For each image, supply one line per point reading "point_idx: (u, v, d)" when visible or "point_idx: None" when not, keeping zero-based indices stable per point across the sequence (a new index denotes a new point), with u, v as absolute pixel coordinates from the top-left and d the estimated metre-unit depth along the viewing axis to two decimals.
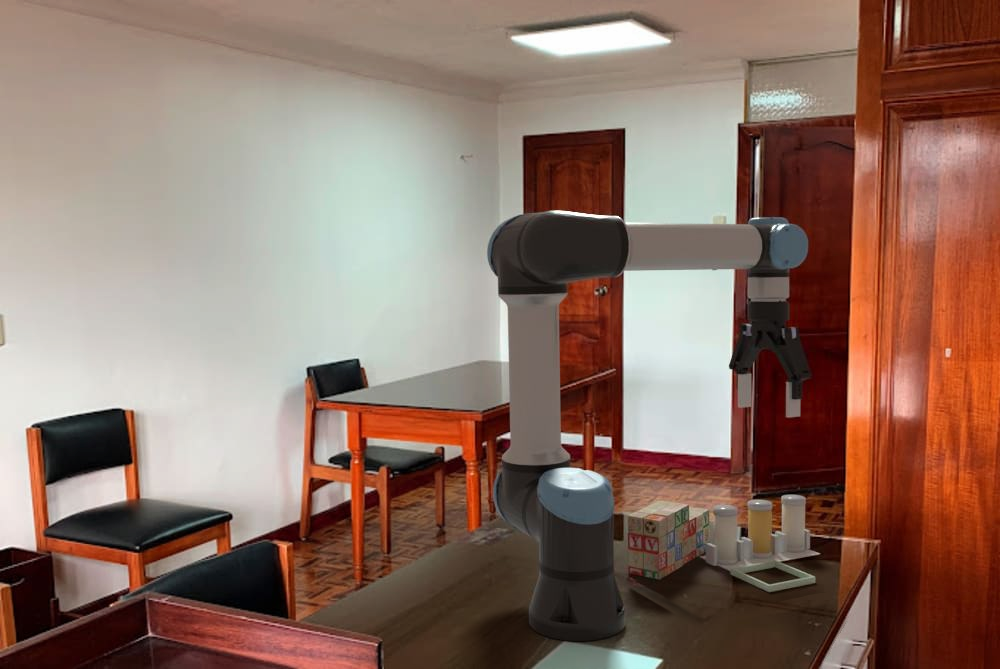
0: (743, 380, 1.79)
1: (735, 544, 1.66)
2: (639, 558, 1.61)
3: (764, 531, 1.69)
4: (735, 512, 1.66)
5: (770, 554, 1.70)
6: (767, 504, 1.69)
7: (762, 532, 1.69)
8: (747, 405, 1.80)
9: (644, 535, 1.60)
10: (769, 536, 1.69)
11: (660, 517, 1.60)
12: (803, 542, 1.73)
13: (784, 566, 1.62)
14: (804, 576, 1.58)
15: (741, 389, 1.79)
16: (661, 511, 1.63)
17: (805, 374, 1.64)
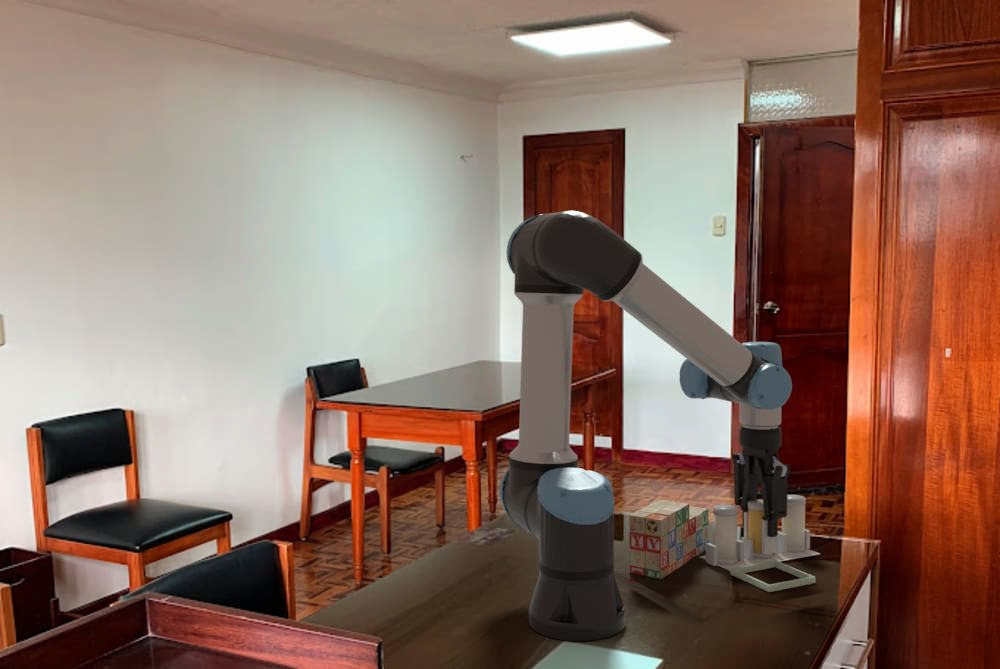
0: None
1: (735, 544, 1.66)
2: (640, 558, 1.61)
3: None
4: (735, 512, 1.66)
5: (770, 554, 1.70)
6: None
7: None
8: None
9: (646, 535, 1.60)
10: None
11: (662, 516, 1.61)
12: (803, 542, 1.73)
13: (784, 566, 1.62)
14: (804, 576, 1.58)
15: (747, 528, 1.72)
16: (662, 510, 1.64)
17: (780, 515, 1.65)
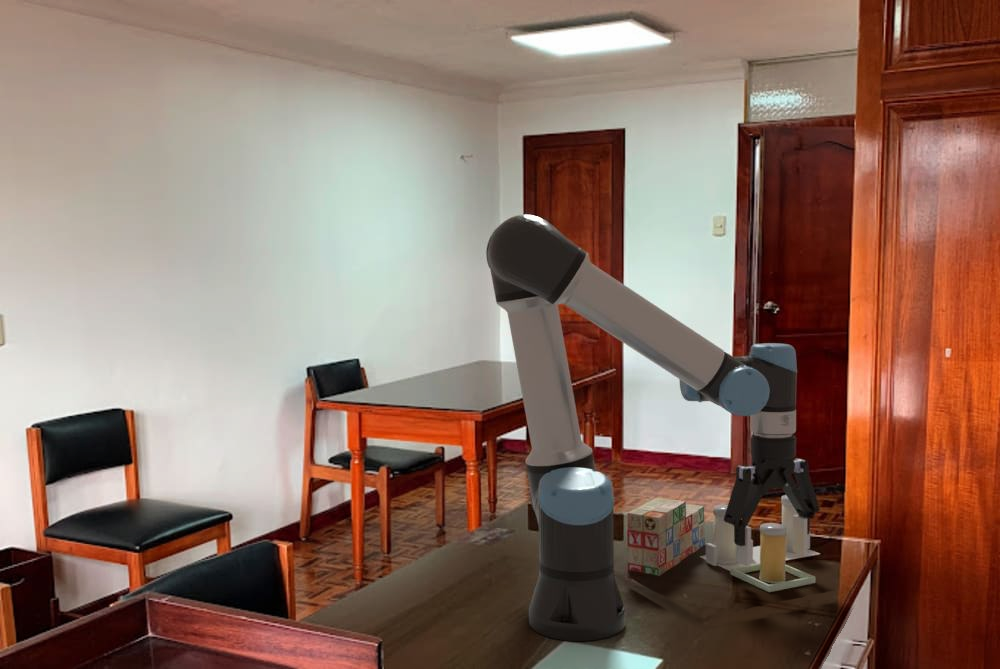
0: (796, 522, 1.61)
1: (735, 544, 1.66)
2: (638, 555, 1.63)
3: (761, 554, 1.58)
4: None
5: None
6: (766, 528, 1.57)
7: (760, 555, 1.58)
8: (799, 552, 1.60)
9: (644, 532, 1.62)
10: (765, 563, 1.57)
11: (659, 514, 1.62)
12: None
13: None
14: (804, 576, 1.58)
15: (794, 532, 1.61)
16: (660, 508, 1.65)
17: (728, 519, 1.54)
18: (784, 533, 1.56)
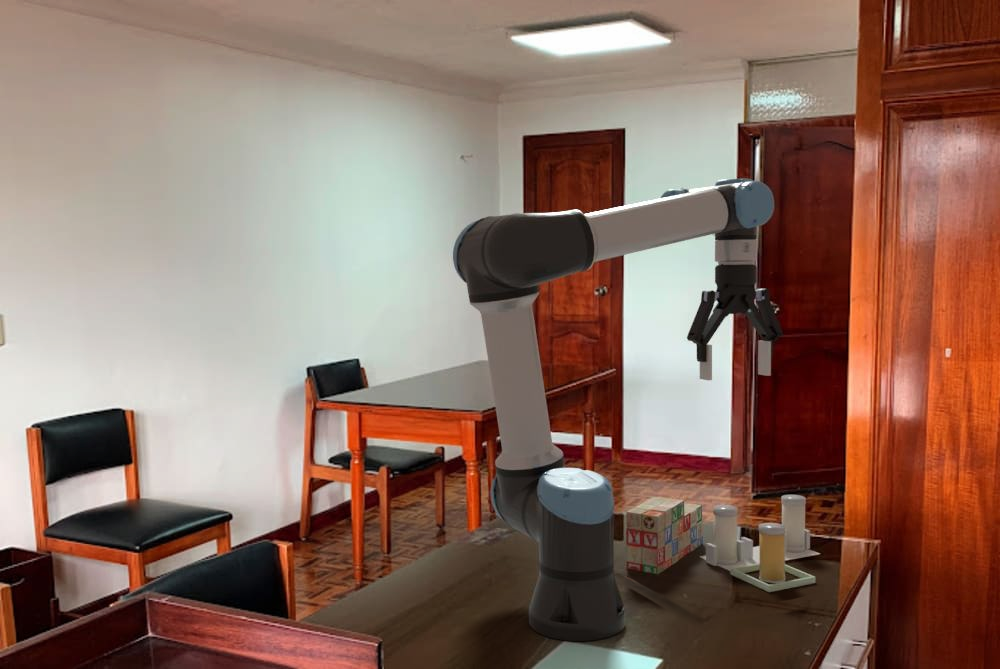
0: (760, 346, 1.74)
1: (735, 544, 1.66)
2: (637, 554, 1.64)
3: (760, 554, 1.58)
4: (735, 512, 1.66)
5: None
6: (765, 527, 1.57)
7: None
8: (764, 373, 1.74)
9: (643, 531, 1.63)
10: (765, 562, 1.57)
11: (658, 513, 1.63)
12: (803, 542, 1.73)
13: None
14: (804, 576, 1.58)
15: (759, 355, 1.75)
16: (658, 507, 1.66)
17: (690, 336, 1.67)
18: (783, 532, 1.57)
